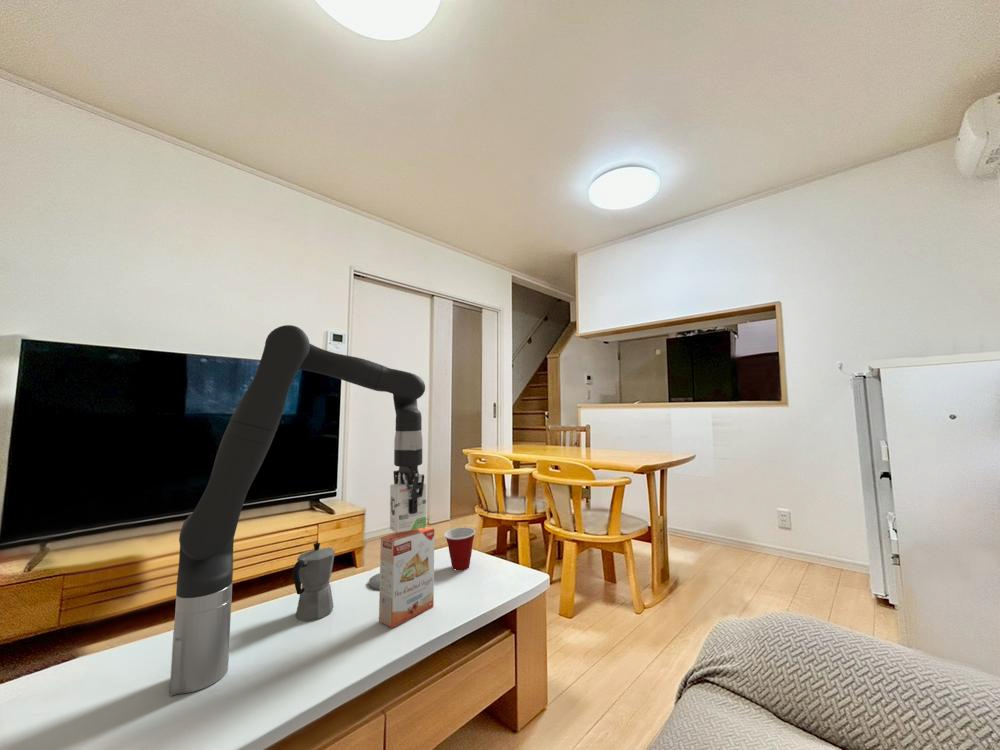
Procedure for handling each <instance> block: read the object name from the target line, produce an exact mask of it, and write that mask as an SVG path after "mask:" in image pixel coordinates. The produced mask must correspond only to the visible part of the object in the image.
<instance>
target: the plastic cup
mask: <svg viewBox="0 0 1000 750" xmlns="http://www.w3.org/2000/svg"><path fill="white" fill-rule="evenodd" d="M443 534H444V537H445V540H446V542H447V546H448V553H449V558H450V561H451V562H450V563H451V567H453V568H452V569H453V570H454V569H456V570H455V571H457V570H462V571H465V570H464V569H466V570H468V569H469V568H470V564H471V557H472V553H473V544H474V538H475V534H476V529H475V528H473V527H468V526H467V527H466V526H462V527H461V526H460V527H455V528H450V529H449V530H447V531H445V532H444V533H443ZM467 568H468V569H467Z"/></svg>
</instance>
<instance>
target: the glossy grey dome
mask: <svg viewBox="0 0 1000 750" xmlns="http://www.w3.org/2000/svg"><path fill="white" fill-rule="evenodd" d="M368 586H369V588H371V587H372V588H374V589H373V590H376V589H380V572H379V573H377V574H375V575H373V576H371V577H370V578H369V579H368ZM372 588H371V589H372Z"/></svg>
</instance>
